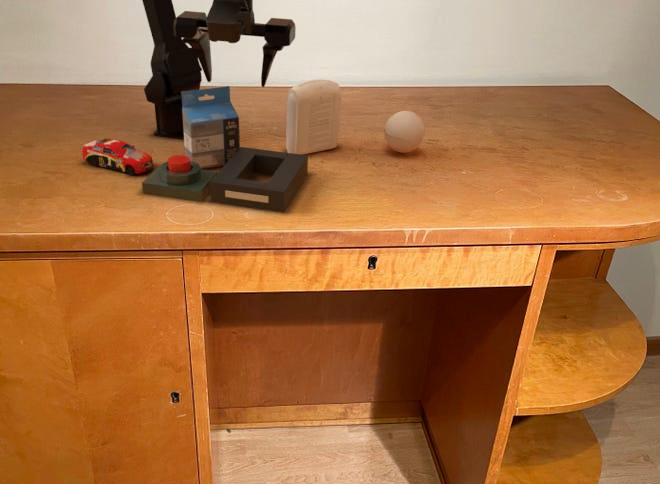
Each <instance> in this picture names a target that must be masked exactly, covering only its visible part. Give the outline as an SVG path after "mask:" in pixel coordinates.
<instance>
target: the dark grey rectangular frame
mask: <svg viewBox="0 0 660 484" xmlns="http://www.w3.org/2000/svg"><path fill="white" fill-rule="evenodd" d="M308 167H309V154H302V155H300V154H293V153H288V152H283V151H275V150H268V149H262V148H254V147H247V146H246V147H244V146H240V148H239V149H238V151H237V152H236V153H235V154H234V155H233V156H232V157H231V159H230V160H229V161H228V162H227V163H226V164H225V165H224V166H222V168H220V170H219V171H217V172H218V173H217V175H216V176H215V177H214V178H213V179H212V180H211V181H210V187H211V191H210V202H211V203H213V204H221V205H229V206H234V207H235V206H236V207H243V208H249V209H256V210H263V211H264V210H265V211H271V212H275V213H276V212H277V213H285V211H286V210H287V208H288V207H289V205H290V204H291V202H292V200H293V199H294V198H295V197H296V196H295V195H296V194H297V192H298V191H299V189H300V187H301V186H302V184H303V183H304V181H305V180H306V178H307V177H308V171H309V170H308ZM255 175H262V176H269V177H270V179H269V180H268V182H264V181H258V180H252V179H253V178H254V177H255Z"/></svg>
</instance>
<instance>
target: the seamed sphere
mask: <svg viewBox="0 0 660 484" xmlns="http://www.w3.org/2000/svg"><path fill="white" fill-rule="evenodd" d="M382 134H384V139H385V142H386V144H387V146H389V148H391V149H392V151H395V152H397V153H400V154H406V153H410V152H413V151H415V150H416V149H417V148H418V147H420V145H421V144H422V142H423V140H424V137H425V124H424V122H423V119H422V118H421V117H420V116H419V115H418V114H417V113H415V112H413V111H410V110H401V111H398V112H395V113H394V114H393V115H392V116H390V117H389V119H388V120H387V121H386V123H385V128H384V132H381V133H376V134H375V136H377V135H382Z"/></svg>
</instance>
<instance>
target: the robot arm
mask: <svg viewBox="0 0 660 484" xmlns="http://www.w3.org/2000/svg"><path fill="white" fill-rule="evenodd" d="M141 1H142V4H143V9H144V12H145V15H146V19H147V22H148V27H149V30H150V34H151V37H152V41H153V50H152V54H151V58H150V70H151V75H152V76H151V77H150V79H149V80H148V82H147V84H146V85H145V87H144V88H143V91H144V95H145V98H146V101H147V102H149V103H151V104H153V105H154V115H155V125H156V129H155V130H154V131H153V133H152V134H153V136H158V137H165V138H173V139H181V140H184V129H183V113H182V107H183V105H182V95H181V92H184V91H193V90H201V83H202V81H203V80H202V79H203V78H202V71H203V74H204V76H205V79H206V81H207V82H208V83H211V82H212V77H213V68H212V53H211V51H212V50H211V42H214V43H217V42H226V43H229V44H237V43H238V42H240V40H241V37H242V36H247V37H248V36H250V37H260V38H263V39H264V41H265V43H264V45H262V54H263V55H262V65H261V76H260V81H261V83H260V84H261V88H265V86H266V84H267V81H268V78H269V75H270V72H271V69H272V67H273V62H274V60H275V58H276V56H277V53H278V52H280V51H283V49H284V48H285V47H290V46H291V45H292V43H293V42H294V40H295V39H296V23H295V22H294V20H293V19H291V18H279V17H278V18H277V17H271V18H269V20H267V22H266V23H258V22H256V21H255V12H254V0H212V3H211V6H210V9H209V10H208V14H206V12H203V11H192V10H191V11H190V10H184V11H183V12H181V13H180V14H179V15H176V11H175V8H174V3H173V0H141ZM189 46H190V47H189Z"/></svg>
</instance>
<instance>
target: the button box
mask: <svg viewBox="0 0 660 484" xmlns="http://www.w3.org/2000/svg"><path fill="white" fill-rule="evenodd" d="M218 172H219V171H217V170H211V169H210V170H209V169H201V168H200V166H199V164H198V163H196V162H194V161H191V171H188V172H185V173H174V172H170V171H169V169H168V161H165V162H163V163H160V164H159V166H158V167H156V169H155V170H154V171H152V173H150V175H148V176H147V177H146V178H145V179H144V180H143V181H142V182H141V188H142V194H145V195H152V196H158V197H164V198H172V199H178V200H179V199H180V200H186V201H192V202H199V203H201V202H203V201H204V200H205V198H207V195H208V194H210V193H211V187H210V181H211V180H212V179H213V178H214V177H215V176H216V175H217V173H218Z"/></svg>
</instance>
